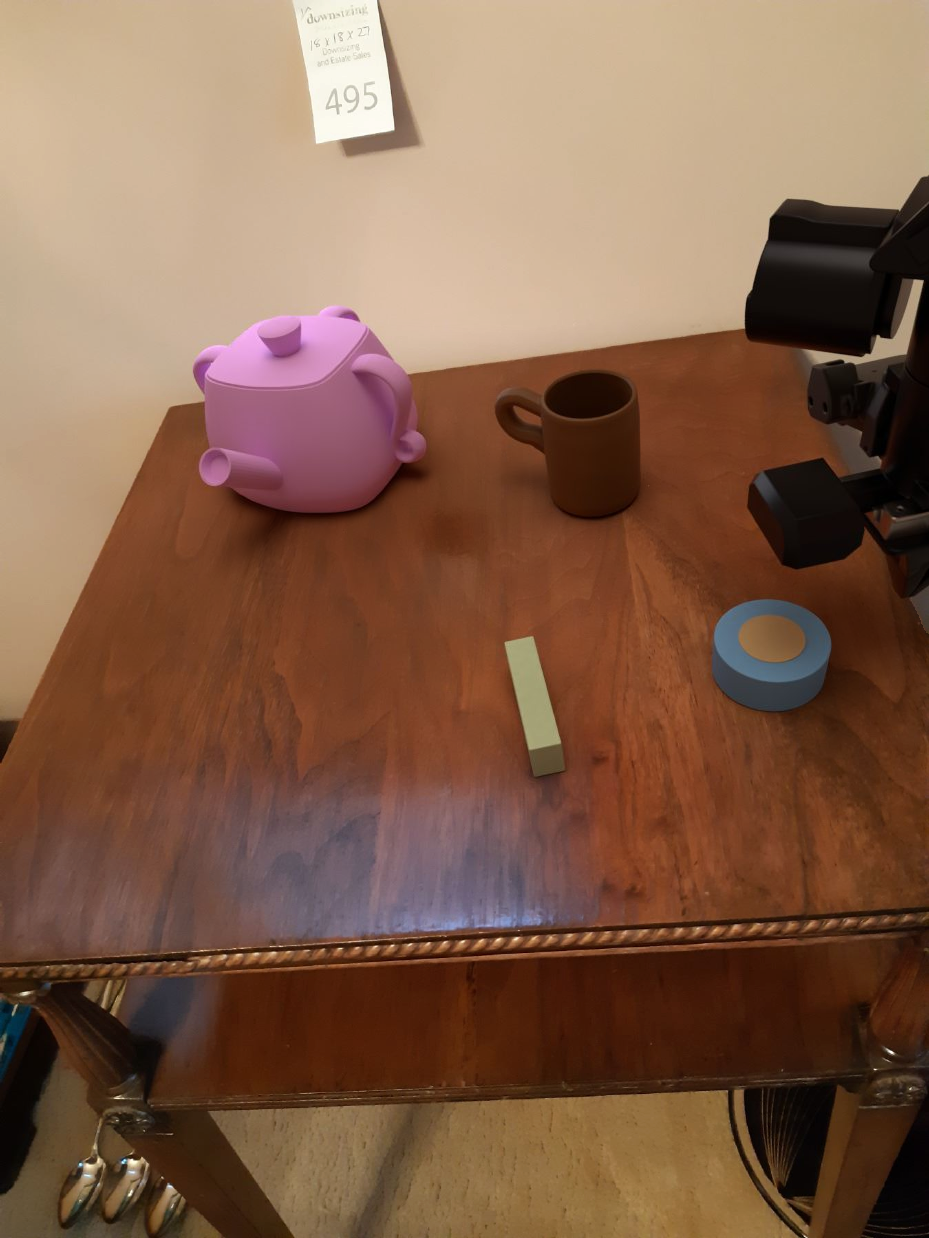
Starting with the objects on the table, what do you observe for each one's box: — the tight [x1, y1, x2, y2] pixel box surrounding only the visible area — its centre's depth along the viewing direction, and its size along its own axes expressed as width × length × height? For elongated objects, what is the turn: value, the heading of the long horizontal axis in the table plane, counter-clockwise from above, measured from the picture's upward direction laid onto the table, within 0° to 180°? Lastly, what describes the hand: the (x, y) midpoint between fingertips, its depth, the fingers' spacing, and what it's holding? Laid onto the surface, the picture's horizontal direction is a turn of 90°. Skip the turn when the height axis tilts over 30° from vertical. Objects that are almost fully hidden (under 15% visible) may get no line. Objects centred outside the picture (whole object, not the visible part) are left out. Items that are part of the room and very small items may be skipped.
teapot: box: [192, 305, 428, 514], centre depth 74 cm, size 19×21×14 cm
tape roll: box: [711, 598, 832, 712], centre depth 54 cm, size 7×7×3 cm
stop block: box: [504, 635, 566, 778], centre depth 54 cm, size 2×9×3 cm, turn 8°
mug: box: [494, 368, 642, 518], centre depth 68 cm, size 12×8×9 cm, turn 64°
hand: (903, 592), depth 51 cm, fingers closed
